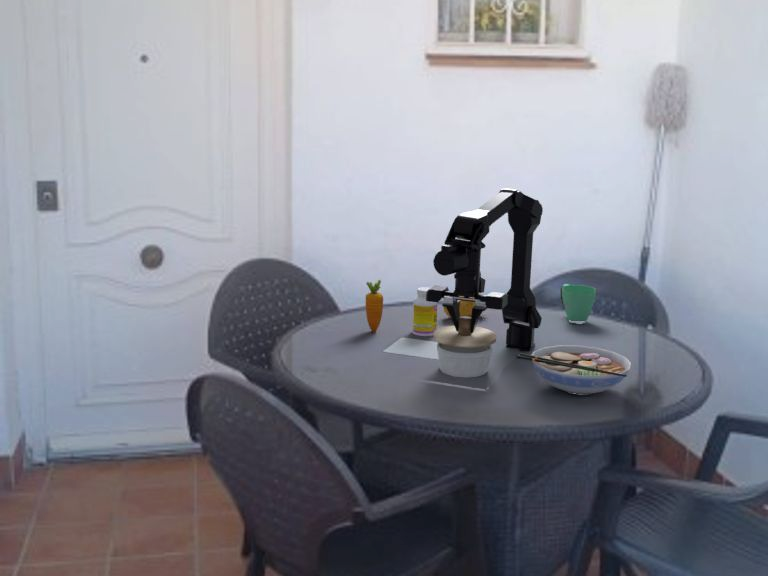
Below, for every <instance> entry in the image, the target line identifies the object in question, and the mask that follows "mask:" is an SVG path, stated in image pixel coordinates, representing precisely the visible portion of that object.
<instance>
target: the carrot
mask: <svg viewBox="0 0 768 576" xmlns="http://www.w3.org/2000/svg"><path fill="white" fill-rule="evenodd" d="M381 282H382V281H381V279H378V280H377V282H375V283H374V284H373V282H372V281H370V282H369V281H366V285H367V287H368V289H369V290H370V292H368V293H367V294H366V295H365V314H366V321H367V323H368V327H369V330H370V331H371V332H372V333H376V332H377V331H378V328H379V327H380V324H381V321H382V316H383V308H384V296H383V294H381V293H380V292H378V291H379V290H380V288H381Z"/></svg>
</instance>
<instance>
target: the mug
mask: <svg viewBox="0 0 768 576" xmlns="http://www.w3.org/2000/svg"><path fill="white" fill-rule="evenodd" d="M597 290H598V289H596V288H595V287H592V286H589V285H581V284H568V283H564V284H562V285H561V288H560V299H561V303H562V308H563V309H564V311H565V315H566V318H567V321H568V320H571V321H586V320H587V321H588V318H589V317H590V315H591V312H592V310H593V307H594V303H595V299H596V295H597ZM587 321H586V322H587Z"/></svg>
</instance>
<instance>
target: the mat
mask: <svg viewBox="0 0 768 576" xmlns="http://www.w3.org/2000/svg"><path fill="white" fill-rule="evenodd" d="M437 344H438V342H437V341H432V340H426V339H425V340H424V339H416V338H410V337H404V336H403V337H400V338H399V339H398V340H396V341H395V342H394V343H392V344H391V345H390V346H388V347H387V348H385V349H384V350H383V351H382V352H383V353H389V354H395V355H402V356H409V357H416V358H423V359H431V360H438V361H439V359H438V351H437Z"/></svg>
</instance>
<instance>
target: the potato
mask: <svg viewBox="0 0 768 576" xmlns="http://www.w3.org/2000/svg"><path fill="white" fill-rule="evenodd" d="M479 295H482V293H479ZM459 297H463V296H459ZM469 298H473V297H469ZM475 305H476V304H475V302H470V301H460V307H459V312H460V317H462V316H468V317H471V316H472V308H473V307H474V306H475ZM442 307H443V306H442ZM443 312H444V313H445V315H446V316H447V317H449V318H451V316H450V314H449V312H448V310H447V308H446V307H443Z"/></svg>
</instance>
